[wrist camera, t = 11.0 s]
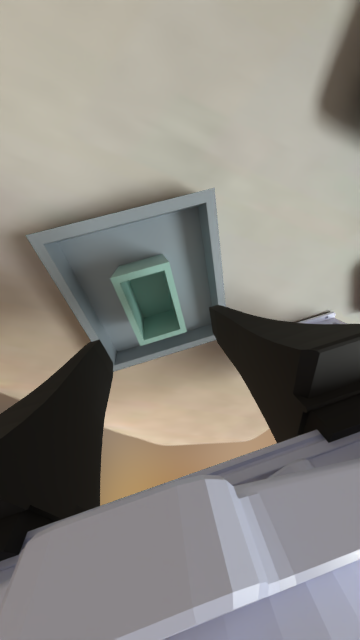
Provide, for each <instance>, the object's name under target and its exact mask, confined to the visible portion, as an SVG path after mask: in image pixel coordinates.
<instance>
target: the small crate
mask: <svg viewBox="0 0 360 640" xmlns="http://www.w3.org/2000/svg"><path fill="white" fill-rule="evenodd" d="M110 279H111V282H112V284H113V286H114V288H115V291H116V293H117V295H118V297H119V299H120V302H121V304H122V306H123V308H124V311H125V313H126V315H127V317H128V320H129V322H130V324H131V326H132V328H133V331H134V333H135V335H136V337H137V340H138V342H139V344H140V346H143V345H146V344H149V343H152V342H156V341H159V340H162V339H165V338H169V337H172V336H175V335H178V334H182V333H185V332H187V330H186V326H185V322H184V319H183V315H182V311H181V307H180V303H179V299H178V295H177V291H176V287H175V283H174V279H173V275H172V271H171V267H170V263H169V261H168V260H167V259H166V258H165V256H164V255H163V254H160V255H157V256H153V257H149V258H146V259H142V260H139V261H135V262H131V263H128V264H124V265H121V266H118V268H117V269H116V271H115V272H114V274H113V275H112V276H111V278H110Z"/></svg>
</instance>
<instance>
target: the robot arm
mask: <svg viewBox="0 0 360 640" xmlns="http://www.w3.org/2000/svg"><path fill="white" fill-rule="evenodd" d="M209 311H210V318H211V324H212V331H213V334H214V336H215V338H216V340H217V342H218V344H219V345H220V347H221V348H222V349H223V351H224V352H225V354H226V355H227V356H228V358H229V359H230V360H231V362H232V363H233V365H234V366H235V367H236V369H237V370H238V372H239V373H240V375H241V376H242V378H243V380H244V382H245V383H246V385H247V387H248V388H249V390H250V392H251V394H252V396H253V398H254V399H255V401H256V403H257V405H258V407H259V409H260V410H261V412H262V414H263V416H264V418H265V420H266V422H267V424H268V426H269V428H270V430H271V432H272V434H273V436H274V438H275V440H276V442H277V444H274V445H271V446H268V447H266V448H263V449H260V450H257V451H254V452H252V453H249V454H246V455H243V456H240V457H237V458H234V459H232V460H229V461H226V462H223V463H220V464H217V465H215V466H212V467H209V468H206V469H203V470H200V471H198V472H195V473H192V474H189V475H186V476H183V477H181V478H178V479H175V480H172V481H169V482H167V483H164V484H161V485H158V486H155V487H152V488H150V489H147V490H144V491H141V492H138V493H135V494H133V495H130V496H127V497H124V498H121V499H118V500H116V501H113V502H110V503H107V504H104V505H102V506H100V471H101V450H102V436H103V427H104V418H105V412H106V407H107V402H108V398H109V393H110V388H111V383H112V378H113V361H112V360H111V358H110V356H109V355H108V353H107V351H106V349H105V348H104V346H103V344H102V343H101V341H100V339H99V340H96V341H92V342H90V343H88V344H87V345H86V346H84V347H83V348H82V349H81V350H80V351H79V352H78V353H77V354H76V355H74V356H73V357H72V358H71V359H70V360H69V361H68V362H67V363H66V364H65V365H64V366H63V367H61V368H60V369H59V370H58V371H57V372H56V373H54V374H53V375H52V376H51V377H50V378H49V379H48V380H46V381H45V382H44V383H43V384H41V385H40V386H39V387H38V388H36V389H35V390H34V391H32V392H31V393H30V394H28V395H27V396H26V397H24V398H23V399H22V400H20V401H19V402H17V403H16V404H14V405H13V406H11V407H10V408H8V409H7V410H6V411H4V412H3V413H1V414H0V640H360V324H347V323H344V322H342V321H340V320H338V319H336V318H335V313H334V312H329V313H326V314H323V315H320V316H316V317H313V318H310V319H307V320H304V321H300V322H297V323H294V322H285V321H278V320H272V319H266V318H261V317H257V316H253V315H249V314H246V313H243V312H239V311H236V310H233V309H230V308H228V307H225V306H221V305H215V306H212V307H209Z"/></svg>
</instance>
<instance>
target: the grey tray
mask: <svg viewBox="0 0 360 640" xmlns="http://www.w3.org/2000/svg"><path fill="white" fill-rule="evenodd" d="M25 236H26V237H27V239H28V240H29V242H30V244H31V245H32V247H33V248H34V250H35V252H36V253H37V255H38V257H39V258H40V260H41V261H42V263H43V265H44V266H45V268H46V269H47V271H48V273H49V274H50V276H51V278H52V279H53V281H54V282H55V284H56V286H57V287H58V289H59V290H60V292H61V294H62V295H63V297H64V298H65V300H66V302H67V303H68V305H69V307H70V308H71V310H72V311H73V313H74V315H75V316H76V318H77V319H78V321H79V323H80V324H81V326H82V327H83V329H84V331H85V332H86V334H87V336H88V337H89V339H90V340H91V342H92V341H96V340H99V339H100V341H101V343H102V344H103V346H104V348H105V349H106V351H107V353H108V355H109V356H110V358H111V360H112V361H113V372H114V371H117V370H120V369H123V368H127V367H130V366H133V365H136V364H140V363H143V362H146V361H149V360H153V359H156V358H159V357H162V356H166V355H169V354H172V353H175V352H179V351H182V350H185V349H188V348H191V347H195V346H198V345H201V344H204V343H208V342H211V341H214V340H216V338H215V336H214V334H213V331H212V324H211V318H210V311H209V307H212V306H215V305H221V306H225V307H226V304H225V293H224V283H223V272H222V262H221V251H220V241H219V230H218V220H217V209H216V199H215V188H212V189H208V190H204V191H200V192H196V193H192V194H188V195H184V196H180V197H176V198H172V199H168V200H164V201H160V202H156V203H152V204H148V205H144V206H140V207H136V208H132V209H128V210H124V211H120V212H116V213H112V214H108V215H104V216H100V217H96V218H92V219H89V220H85V221H81V222H77V223H73V224H69V225H65V226H61V227H57V228H53V229H49V230H45V231H41V232H37V233H33V234H29V235H25ZM160 254H163V255H164V256H165V258H166V259H167V260H168V261H169V263H170V267H171V271H172V275H173V279H174V283H175V287H176V291H177V295H178V299H179V303H180V307H181V311H182V315H183V319H184V322H185V326H186V330H187V332H185V333H182V334H178V335H175V336H172V337H169V338H165V339H162V340H159V341H156V342H152V343H149V344H146V345H143V346H140V344H139V342H138V340H137V337H136V335H135V333H134V331H133V328H132V326H131V324H130V322H129V320H128V317H127V315H126V313H125V311H124V308H123V306H122V304H121V302H120V299H119V297H118V295H117V293H116V291H115V288H114V286H113V284H112V282H111V279H110V278H111V276H112V275H113V274H114V272H115V271H116V269H117V268H118V266H121V265H124V264H128V263H131V262H135V261H139V260H142V259H146V258H149V257H153V256H157V255H160Z"/></svg>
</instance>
